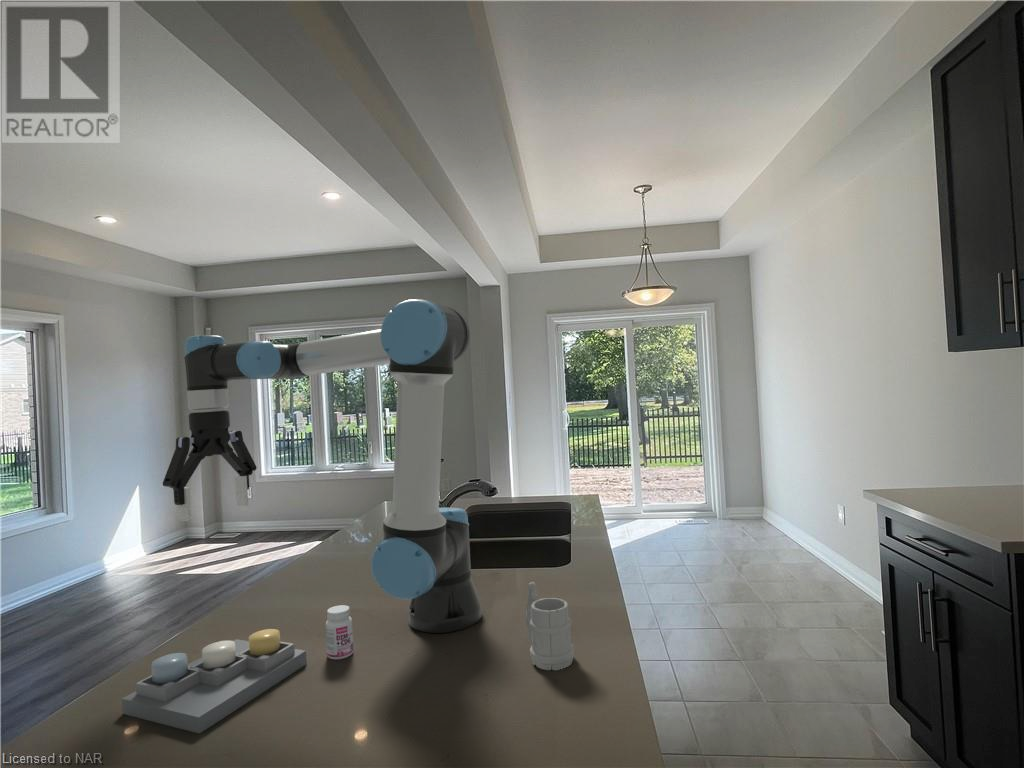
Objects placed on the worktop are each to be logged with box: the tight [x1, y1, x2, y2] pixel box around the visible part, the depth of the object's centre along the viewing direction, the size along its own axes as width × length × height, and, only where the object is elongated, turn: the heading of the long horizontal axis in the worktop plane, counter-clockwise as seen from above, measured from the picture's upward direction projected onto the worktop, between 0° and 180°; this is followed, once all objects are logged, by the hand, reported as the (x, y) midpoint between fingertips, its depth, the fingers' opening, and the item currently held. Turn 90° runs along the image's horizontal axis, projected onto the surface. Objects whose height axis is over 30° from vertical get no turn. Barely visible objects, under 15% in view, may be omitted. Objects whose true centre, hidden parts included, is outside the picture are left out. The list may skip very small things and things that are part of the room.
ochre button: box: [248, 628, 281, 655], centre depth 103 cm, size 5×5×2 cm
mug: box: [525, 581, 575, 671], centre depth 104 cm, size 8×12×12 cm, turn 28°
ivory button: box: [201, 640, 236, 668], centre depth 99 cm, size 5×5×2 cm
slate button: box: [150, 652, 188, 683], centre depth 95 cm, size 5×5×2 cm
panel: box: [121, 638, 308, 734], centre depth 99 cm, size 17×22×4 cm
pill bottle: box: [325, 604, 354, 660], centre depth 109 cm, size 5×5×8 cm
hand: (215, 512), depth 122 cm, fingers open, 13 cm apart
